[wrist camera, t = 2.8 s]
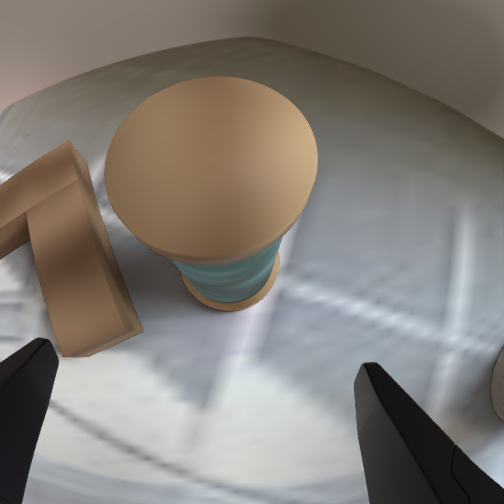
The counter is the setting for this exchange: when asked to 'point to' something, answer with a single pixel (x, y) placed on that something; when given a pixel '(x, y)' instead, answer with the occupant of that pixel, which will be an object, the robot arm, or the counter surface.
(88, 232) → the cutout shelf
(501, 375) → the thermos bottle
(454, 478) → the robot arm
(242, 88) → the cord reel
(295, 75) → the counter surface
